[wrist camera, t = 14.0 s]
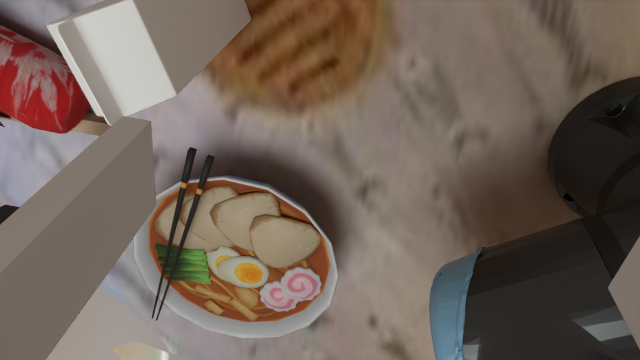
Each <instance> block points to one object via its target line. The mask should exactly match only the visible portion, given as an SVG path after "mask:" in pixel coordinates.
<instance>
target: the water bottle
mask: <svg viewBox="0 0 640 360" xmlns="http://www.w3.org/2000/svg"><path fill="white" fill-rule="evenodd" d="M90 107H91V105H90V103H89V101H88V100H87V98H86V96H85V94H84V92H83V91H82V89H81V87H80V85H79V83H78V82H77V80H76V78H75V76H74V75H73V73H72V71H71V69H70V67H69V66H68V64H67V62H66V60H65V58H63V57H61V56H60V55H58V54H56V53H55V52H53V51H51V50H50V49H48V48H46V47H44V46H42V45H40V44H38V43H36V42H34V41H32V40H30V39H28V38H26V37H24V36H22V35H19V34H17V33H15V32H13V31H11V30H9V29H7V28H5V27H3V26H1V25H0V117H4V118H10V119H11V117H13V118H15V119H17V120H19V121H21V122H23V123H24V124H26V125H28V126H30V127H32V128H35V129H40V130H45V131H50V132H55V133H60V134H61V133H67V132H69V131H70V130H72V129H73V128H75V127H76V126H77V125H78V124H79V123H80V122H81V120H82V119H83V118H84V117H85V115H86V113H87V112H88V110H89V108H90ZM10 116H11V117H10ZM0 126H3V125H2V123H1V122H0ZM3 127H4V126H3Z"/></svg>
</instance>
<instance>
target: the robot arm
mask: <svg viewBox="0 0 640 360" xmlns="http://www.w3.org/2000/svg"><path fill="white" fill-rule="evenodd" d="M548 168H549V173H550V177H551V180H552V182H553V184H554V186H555V188H556V190H557V192H558V194H559V195H560V197H561V198H562V200H563V201H564V202H565V203H566V204H567V205H568V207H569V208H571V209H572V210H573V211H574V212H575V213H577V214H578V215H580V216H581V217H583V218H581V219H577V220H574V221H571V222H567V223H564V224H561V225H558V226H555V227H552V228H549V229H546V230H543V231H540V232H537V233H534V234H531V235H528V236H525V237H522V238H519V239H515V240H512V241H509V242H506V243H502V244H499V245H496V246H493V247H489V248H488V247H483V248H480V249H478V250H477V251H476V252H475V253H472V254H470V255H467V256H465V257H462V258H460V259H457V260H455V261H452V262H449V263H447V264H445V265H444V266H443V267H441V268H440V269H439V271H438V272H437V273H436V275H435V278H434V279H433V284H432V287H431V291H430V302H429V313H430V327H431V335H432V341H433V347H434V352H435V357H436V360H640V77H638V78H633V79H628V80H625V81H621V82H618V83H615V84H613V85H610V86H608V87H606V88H604V89H602V90H600V91H598V92H596V93H594V94H593V95H591V96H590V97H588V98H587V99H585V100H584V101H583V102H581V103H580V104H579V105H578V106H577V107H575V108H574V109H573V110H572V111H571V112H570V113H569V114H568V116H567V117H566V118H565V119H564V120H563V122H562V123H561V125H560V126H559V128H558V129H557V131H556V133H555V135H554V137H553V139H552V142H551V145H550V149H549V155H548ZM156 206H157V205H156V190H155V175H154V160H153V145H152V130H151V121H147V120H142V119H136V118H130V117H125V116H122V117H121V118H120V119H119V120H118V121H117V122H116V123H114V124H113V125H112V126H111V127H110V128H109V129H108V130H107V131H105V132H104V133H103V134H102V135H101V136H100V137H99V138H98V139H96V140H95V141H94V142H93V143H92V144H91V145H90V146H88V147H87V148H86V149H85V150H84V151H83V152H82V153H81V154H79V155H78V156H77V157H76V158H75V159H74V160H73V161H72V162H70V163H69V164H68V165H67V166H66V167H65V168H64V169H63V170H61V171H60V172H59V173H58V174H57V175H56V176H55V177H54V178H52V179H51V180H50V181H49V182H48V183H47V184H46V185H45V186H43V187H42V188H41V189H40V190H39V191H38V192H37V193H35V194H34V195H33V196H32V197H31V198H30V199H29V200H28V201H26V202H25V203H24V204H23V205H22V206H21V207H15V206H9V205H4V206H2V207H0V360H46V359H47V357H48V356H49V354H50V353H51V352H52V350H53V349H54V347H55V346H56V344H57V343H58V342H59V340H60V339H61V338H62V336H63V335H64V334H65V332H66V331H67V329H68V328H69V327H70V325H71V324H72V322H73V321H74V320H75V318H76V317H77V315H78V314H79V313H80V311H81V310H82V309H83V307H84V306H85V304H86V303H87V302H88V300H89V299H90V297H91V296H92V295H93V293H94V292H95V290H96V289H97V288H98V286H99V285H100V284H101V282H102V281H103V279H104V278H105V277H106V275H107V274H108V272H109V271H110V270H111V268H112V267H113V265H114V264H115V263H116V261H117V260H118V259H119V257H120V256H121V254H122V253H123V252H124V250H125V249H126V247H127V246H128V245H129V243H130V242H131V240H132V239H133V238H134V236H135V235H136V234H137V232H138V231H139V229H140V228H141V227H142V225H143V224H144V222H145V221H146V220H147V218H148V217H149V215H150V214H151V213H152V211H153V210H154V208H155V207H156Z"/></svg>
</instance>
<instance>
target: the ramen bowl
mask: <svg viewBox="0 0 640 360" xmlns="http://www.w3.org/2000/svg"><path fill="white" fill-rule="evenodd" d="M196 150H197V149H194V148H191V147H190V148H189V150H188V153H187V157H186V162H185V167H184V171H183V176H182V180H181V181H180V182H178V183H177V184H175V185H173V186H172V187H170V188H168V189H167V190H165V191H163V192H161V193H160V194H158V195H156V205H157V206H156V207H155V208H154V210H153V211H152V213H151V214H150V215H149V217H148V218H147V220H146V221H145V222H144V224H143V225H142V227H141V228H140V229H139V231H138V232H137V234H136V235H135V236H134V238H133V258H134V260H135V262H136V264H137V266H138V268H139V271H140V273H141V275H142V277H143V279H144V281H145V283H146V285H147V287H148V288H149V289H150V290H151V291H152V292H153V293H154V294H155V295H156V300H155V305H154V310H153V314H152V319H153V316H154V312H155V309H156V305H157V301H158V298H159V299H160V300H161V301H162V302H161V305H160V309H159V312H158V315H157V318H156V320H157V319H158V316H159V314H160V311H161V308H162V305H163V303H164V304H165V305H167V306H168V307H169V308H170V309H171V310H172V311H173V312H174V313H176V314H177V315H179V316H181V317H183V318H185V319H187V320H189V321H190V322H192V323H194V324H196V325H198V326H200V327H202V328H203V329H205V330H208V331H212V332H216V333H221V334H225V335H229V336H233V337H238V338H242V339H248V338H278V337H281V336H284V335H286V334H289V333H292V332H294V331H297V330H300V329H302V328H305V327H308V326H309V325H310V324H311V323H312V322H314V321H315V320H316V319H317V318H318V317H319V316H320V315H321V314H322V313H323V312H324V311H325V310H326V309H327V308H328V307H329V306H330V305H331V302H332V299H333V295H334V292H335V289H336V285H337V282H338V278H339V274H338V270H337V265H336V261H335V256H334V252H333V247H332V243H331V242H330V240H329V238H328V237H327V235H326V234H325V233H324V231H323V230H322V229H321V227H320V226H319V225H318V224H317V222H316V221H315V220H314V219H313V217H312V216H311V215H310V214H309V212H308V211H307V210H306V209H305V207H304V206H303V205H301V204H300V203H299V202H297V201H295V200H294V199H292V198H291V197H289V196H288V195H286V194H284V193H283V192H281V191H280V190H278V189H276V188H275V187H273V186H272V185H270V184H267V183H263V182H259V181H254V180H250V179H246V178H241V177H237V176H232V175H225V176H215V177H208V175H209V172H210V169H211V166H212V164H213V161H214V158H215V157H213V156H211V155H208V156H207V158H206V161H205V164H204V167H203V170H202V174H201V177H200V178H195V179H189V177H190V173H191V170H192V166H193V162H194V158H195V154H196Z"/></svg>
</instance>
